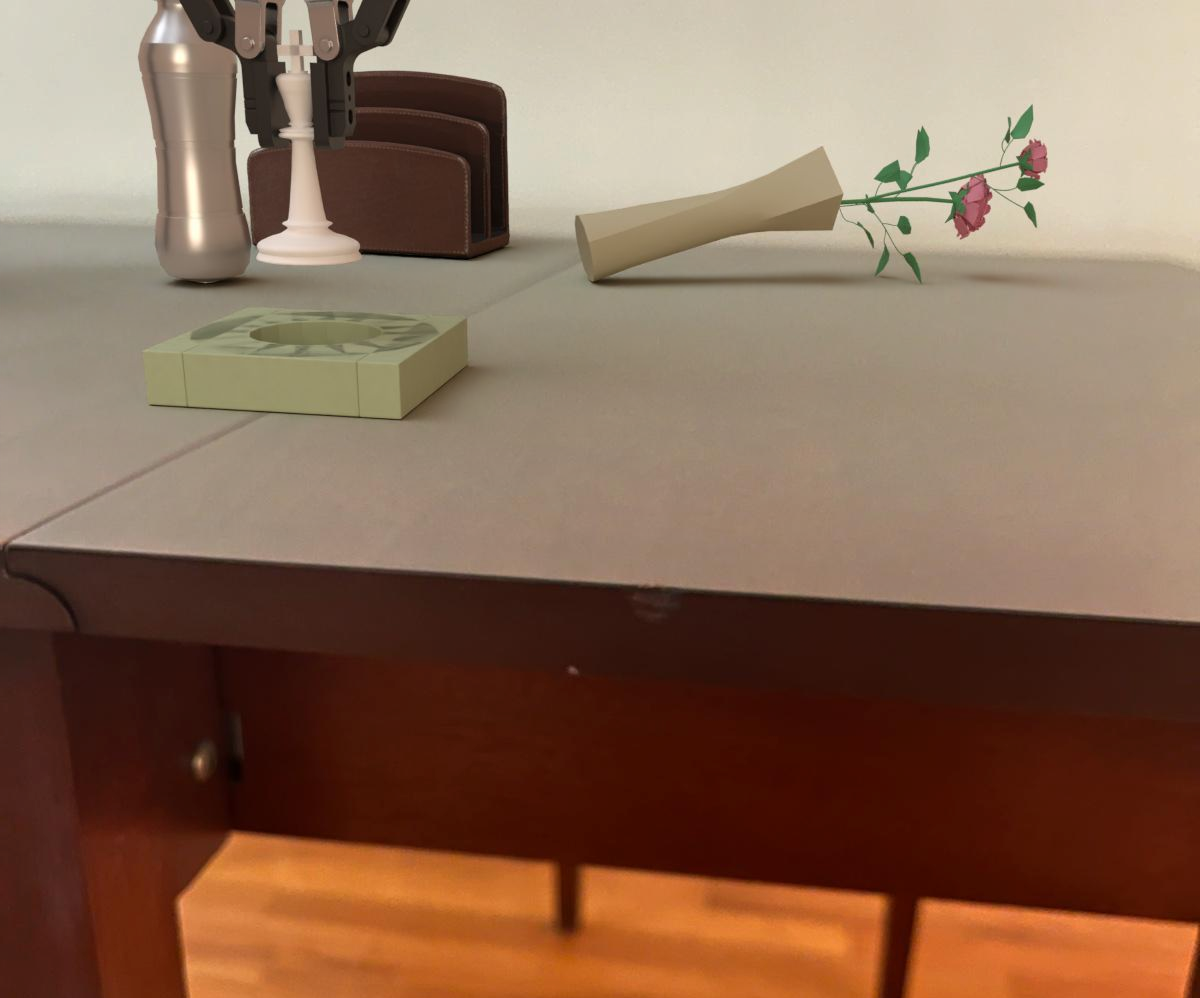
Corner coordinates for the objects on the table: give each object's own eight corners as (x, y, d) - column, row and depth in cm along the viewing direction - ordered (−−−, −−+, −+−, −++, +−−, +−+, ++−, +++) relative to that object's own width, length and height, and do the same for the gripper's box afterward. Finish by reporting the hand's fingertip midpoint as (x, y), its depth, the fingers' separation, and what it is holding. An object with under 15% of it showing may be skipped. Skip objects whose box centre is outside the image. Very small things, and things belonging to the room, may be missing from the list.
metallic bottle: (138, 283, 93) (103, -32, 85) (204, 271, 98) (177, -25, 91) (210, 291, 90) (181, -33, 83) (274, 278, 96) (252, -26, 88)
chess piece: (340, 268, 60) (327, 29, 56) (238, 263, 61) (219, 27, 57) (376, 254, 65) (366, 32, 61) (281, 250, 65) (265, 30, 62)
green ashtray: (147, 404, 60) (141, 350, 59) (252, 353, 71) (248, 306, 70) (401, 419, 59) (399, 363, 58) (468, 364, 70) (467, 316, 69)
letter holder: (306, 235, 120) (295, 68, 115) (511, 246, 116) (510, 72, 110) (250, 247, 112) (236, 67, 106) (470, 260, 107) (467, 72, 101)
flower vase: (601, 371, 103) (1012, 265, 108) (627, 355, 91) (1089, 236, 95) (563, 221, 102) (980, 120, 106) (583, 185, 90) (1054, 72, 94)
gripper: (71, -316, 52) (122, 148, 58) (411, -323, 50) (425, 158, 57) (159, -271, 59) (196, 140, 65) (462, -276, 57) (469, 148, 63)
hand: (303, 146), depth 61 cm, fingers closed on chess piece
